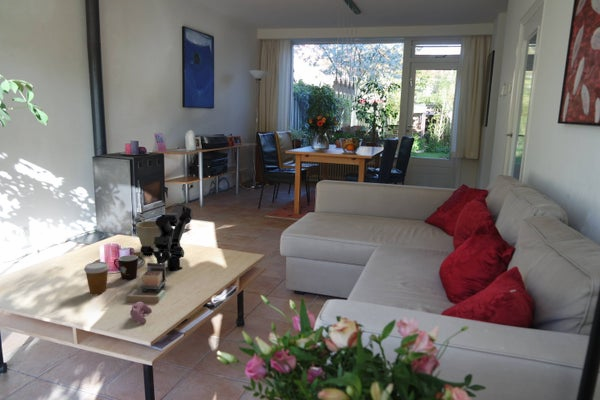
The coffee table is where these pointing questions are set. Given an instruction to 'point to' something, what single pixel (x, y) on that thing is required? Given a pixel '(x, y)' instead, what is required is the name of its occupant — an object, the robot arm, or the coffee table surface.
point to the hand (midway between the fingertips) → (158, 268)
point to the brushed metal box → (154, 277)
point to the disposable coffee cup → (97, 277)
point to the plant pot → (147, 233)
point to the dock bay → (144, 297)
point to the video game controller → (139, 311)
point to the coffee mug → (128, 266)
